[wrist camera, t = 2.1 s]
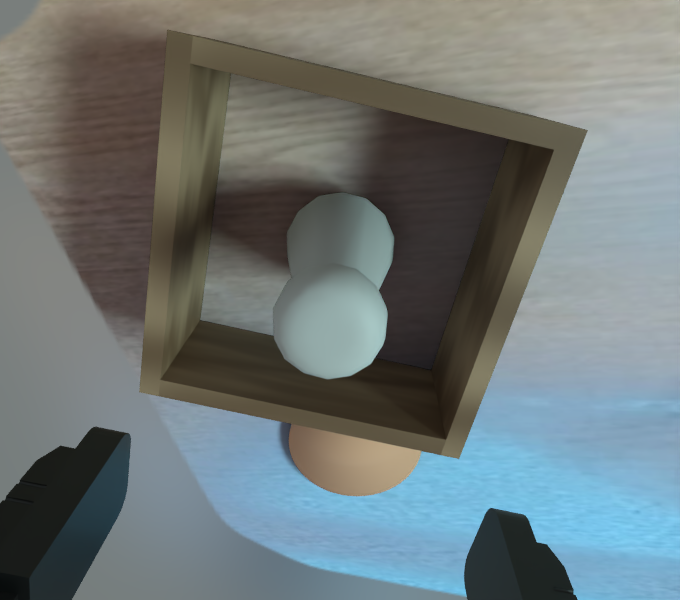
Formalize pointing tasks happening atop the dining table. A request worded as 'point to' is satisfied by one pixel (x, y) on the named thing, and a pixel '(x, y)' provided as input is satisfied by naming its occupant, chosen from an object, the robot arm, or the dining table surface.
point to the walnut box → (260, 349)
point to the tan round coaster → (349, 461)
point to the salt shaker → (334, 286)
